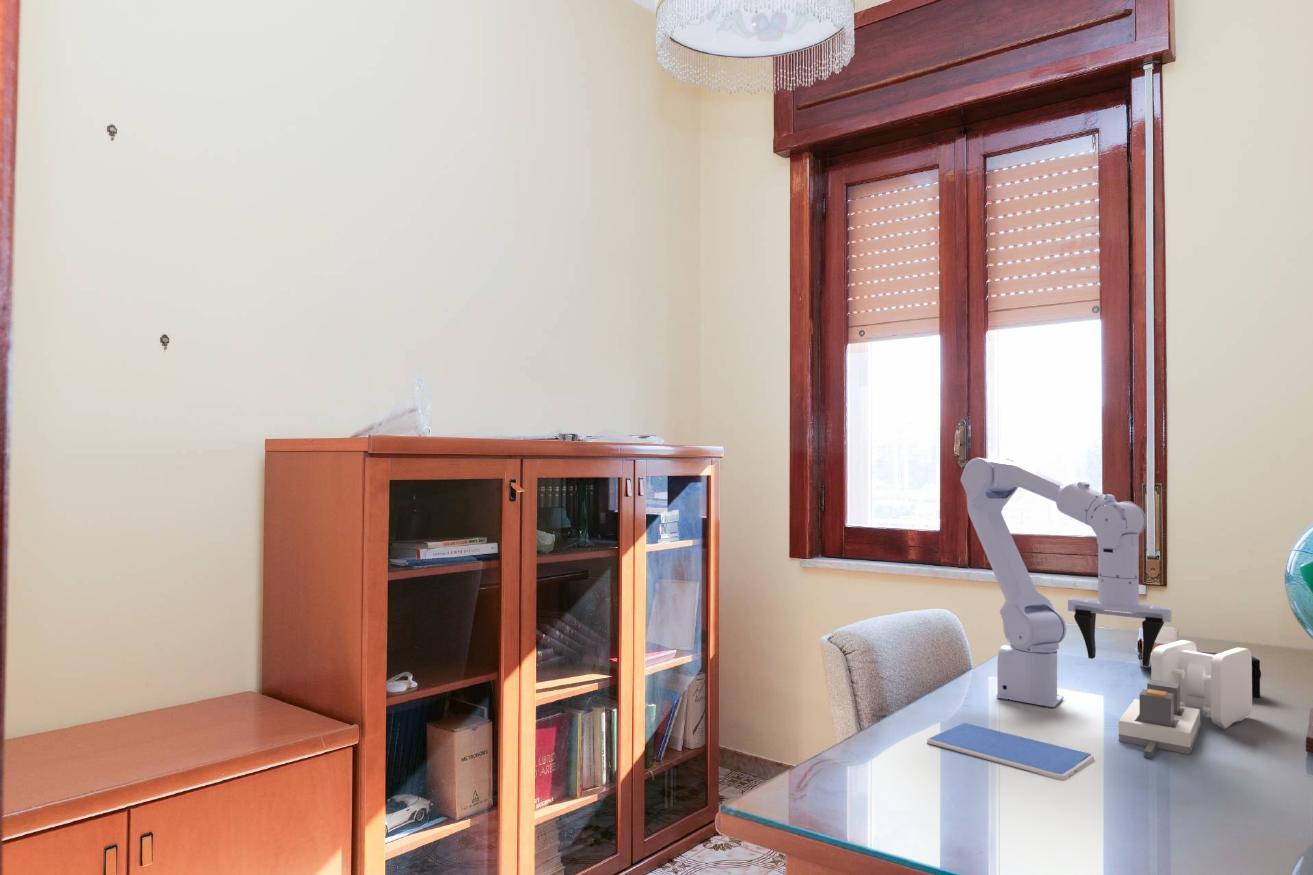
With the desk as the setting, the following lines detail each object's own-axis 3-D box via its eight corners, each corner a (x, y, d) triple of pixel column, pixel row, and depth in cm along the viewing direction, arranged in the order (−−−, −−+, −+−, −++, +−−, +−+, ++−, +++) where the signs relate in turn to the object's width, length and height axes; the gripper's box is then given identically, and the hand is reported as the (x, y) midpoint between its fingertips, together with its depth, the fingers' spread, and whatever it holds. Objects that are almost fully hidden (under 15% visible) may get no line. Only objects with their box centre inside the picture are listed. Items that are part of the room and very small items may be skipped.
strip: (1185, 765, 113) (1185, 713, 113) (1111, 750, 118) (1111, 701, 119) (1200, 728, 130) (1199, 683, 130) (1134, 716, 136) (1134, 674, 136)
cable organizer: (1220, 733, 128) (1220, 658, 128) (1147, 716, 136) (1147, 646, 137) (1253, 717, 137) (1253, 647, 138) (1183, 702, 146) (1182, 636, 146)
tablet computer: (1096, 762, 115) (1096, 753, 115) (1063, 785, 106) (1063, 774, 106) (963, 729, 129) (963, 721, 129) (924, 747, 120) (924, 738, 120)
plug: (1139, 734, 123) (1139, 692, 123) (1143, 728, 126) (1143, 686, 126) (1170, 740, 121) (1170, 696, 121) (1173, 733, 124) (1173, 691, 124)
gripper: (1063, 574, 134) (1063, 658, 134) (1167, 583, 125) (1168, 673, 125) (1072, 570, 140) (1072, 651, 139) (1173, 579, 131) (1173, 665, 130)
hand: (1118, 661), depth 132 cm, fingers open, 7 cm apart
